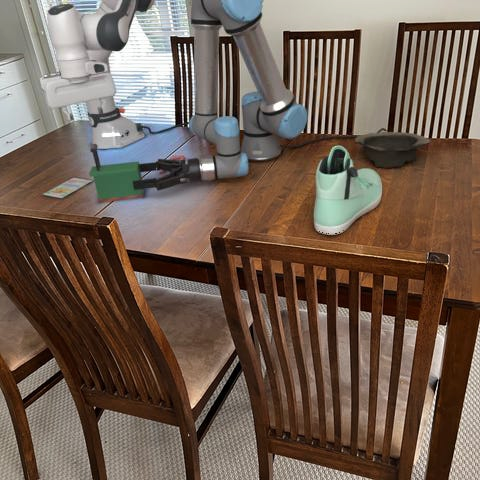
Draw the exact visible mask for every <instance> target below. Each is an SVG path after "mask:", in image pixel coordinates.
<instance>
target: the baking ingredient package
mask: <svg viewBox="0 0 480 480" xmlns="http://www.w3.org/2000/svg"><path fill="white" fill-rule="evenodd" d="M89 183H92V180H90V179H84V178H80V177H79V178H78V177H72V178H70V179H68V180H66V181H64V182H62V183H61V184H58V185H57V186H55V187H53V188H52V189H50V190H48V191H46V192H44V193H42V195H44V196H48V197H53V198H59V199H64V198H65V197H67V196H69V195H70V194H72V193H74V192H75V191H78V190H79V189H81V188H82V187H85V186H86V185H88V184H89Z"/></svg>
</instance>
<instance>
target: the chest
mask: <svg viewBox="0 0 480 480" xmlns="http://www.w3.org/2000/svg"><path fill="white" fill-rule="evenodd" d="M92 177H93V182H94V185H95V189H96V193H97V197H98V202H99V203H105V202H115V201H125V200H132V199H143V198H144V195H145V189H137V190H134V187H133V181H136V180H143V177H142V172H141V171H140V166H139V168H138V171H136V172H127V173H118V174H109V175H100V176H92Z"/></svg>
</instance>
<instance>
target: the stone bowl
mask: <svg viewBox="0 0 480 480" xmlns="http://www.w3.org/2000/svg"><path fill="white" fill-rule="evenodd" d="M359 135H360V136H358V137H354V144H357V145H359V146H362V147H363V153H364V155H366V157H367V158H368V160H371V161H373V165H374V167H376V168H382V169H383V168H384V169H386V168H387V169H389V168H393V167H396V168H398V167H402V166H404V165H405V164H406V162H414V161H415V160H416V157H417V151H418V148H421V147H424V146H426V145H428V144H430V143H431V140H430V139H429V138H427V137H425V136H423V135H420V134H417V133H416V134H415V133H413V132H400V131H399V132H398V131H381V132H379V133H377V132H369V133H365V134H359Z"/></svg>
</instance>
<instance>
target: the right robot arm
mask: <svg viewBox="0 0 480 480" xmlns="http://www.w3.org/2000/svg"><path fill="white" fill-rule="evenodd" d="M263 3H264V0H192V1H191V8H190V25H191V26H192V28H193V31H194V32H193V33H194V34H193V36H194V37H193V39H194V42H193V43H194V45H193V47H194V51H193V52H194V53H193V54H194V55H193V57H194V58H193V59H194V60H193V61H194V114H193V115H191V118H190V119H189V121H188V122H189V124H188V129H189V131H190V133H191V134H193V136H195V137H197V138H198V139H202V140H205V141H207V142H210V143H211V144H214V145H215V146H216V153H217V155H210V156H201V157H200V158H198V157H193V158H188V159H187V163H186V159H185V160H179V159H174V160H170V159H167V158H158V159H157V160H156V161H154V162H144V163H139V166H140V171H141V173H146V172H148V173H149V172H159V170H164V172H169V173H167V174H165V175H163V176H161V177H158V178H156V177H153V178H147V179H142V180H136V181H133V187H134V190H137V189H144V190H145V189H156V191H164V190H166V189H170V188H172V187H176V186H178V185H182V184H183V185H184V184H187V182H188V181H187V179H189V182H190V183H196V182H201V181H202V180H203V181H210V182H212V181H213V180H219V179H234V178H235V179H236V178H239V177H245V176H247V175H248V174H249V172H250V171H249V162H253V163H263V162H270V161H273V160H276V159H278V158H279V157H280V156H281V155H282V148H289V149H296V148H300V147H302V146H304V145H307V144H310V143H314V142H318V141H321V140H327V139H343V138H344V139H351V138H356V137H358V136H360V135H361V134H355V135H354V134H353V135H331V136H329V135H328V136H323V137H318V138H314V139H310V140H307V141H305V142H302V143H300V144H296V145H286V144H284V145H283V144H280V142H279V139H278V137H280V138H281V139H286V140H287V139H288V140H293V139H296V138H297V137H299V136H300V135H301V134H302V133H303V131H304V130H305V128H306V125H307V123H308V118H309V116H308V110H307V108H306V106H304V105H302V104H300V103H298V102H297V101H296V97H295V96H294V93H293V91H291V90H290V89H287V88H286V85H285V82H284V80H283V78H282V75H281V73H280V70H279V68H278V66H277V65H278V64H277V62H276V59H275V57H274V54H273V52H272V50H271V47H270V44H269V42H268V40H267V38H266V35H265V31H264V29H263V26H262V24H261V21H262V18H263V12H262V10H263V7H264V6H263ZM221 28H223V30H224V32H225V34H227V35H229V36H232V37H233V39H234V41H235V43H236V46H237V48H238V50H239V52H240V55H241V57H242V59H243V61H244V64H245V66H246V68H247V71H248V73H249V76H250V77H251V79H252V82H253V84H254V86H255V88H256V90H255V91H250V92H248V93H245V94H244V95H242V97H241V106H240V107H241V113H242V114H241V115H242V126H243V138H242V141H241V139H240V138H241V137H240V136H241V135H240V134H241V133H240V131H241V129H240V126H239V121H238V119H237V117H235V116H229V115H224V116H223V115H222V116H220V117H218V105H219V104H218V103H219V102H218V101H219V95H218V94H219V56H220V55H219V52H220V51H219V50H220V48H219V47H220V30H221ZM379 132H388V130H387V129H386V128H384V127H381V128H380V129H379V130H377V131H376V133H379Z"/></svg>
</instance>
